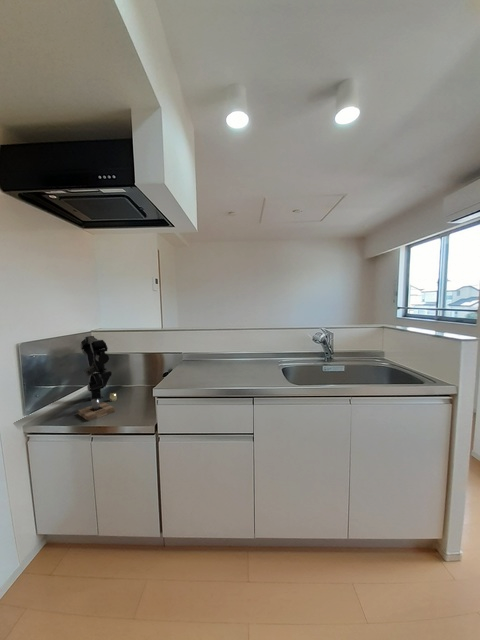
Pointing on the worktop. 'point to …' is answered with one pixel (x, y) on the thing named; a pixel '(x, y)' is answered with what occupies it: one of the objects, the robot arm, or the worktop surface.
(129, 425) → the worktop surface
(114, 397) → the short pin
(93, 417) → the hole plate
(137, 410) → the worktop surface
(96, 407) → the tall pin
